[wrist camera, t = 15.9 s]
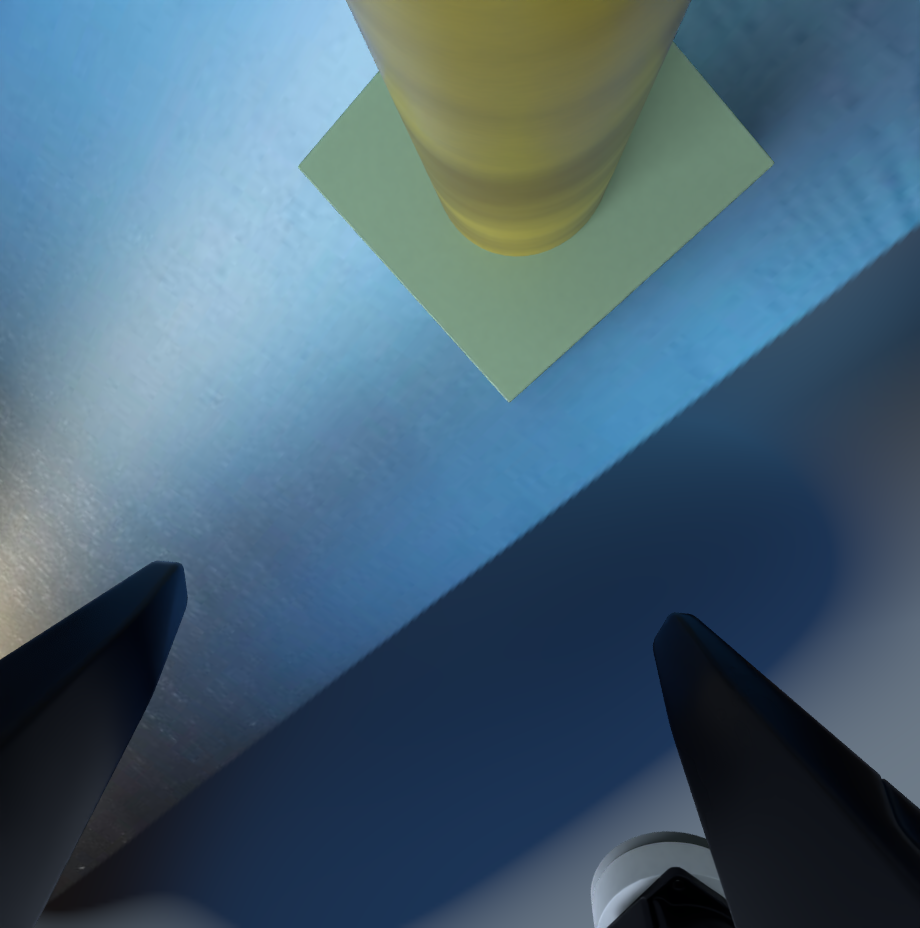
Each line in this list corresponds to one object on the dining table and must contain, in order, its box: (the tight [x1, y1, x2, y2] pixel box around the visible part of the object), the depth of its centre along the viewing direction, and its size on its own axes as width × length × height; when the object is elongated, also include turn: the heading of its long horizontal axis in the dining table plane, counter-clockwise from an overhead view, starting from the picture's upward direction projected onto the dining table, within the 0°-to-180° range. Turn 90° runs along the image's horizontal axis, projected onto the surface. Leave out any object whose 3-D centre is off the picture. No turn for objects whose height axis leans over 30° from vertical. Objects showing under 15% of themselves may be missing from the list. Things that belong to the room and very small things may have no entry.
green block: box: [298, 42, 774, 402], centre depth 17 cm, size 10×10×5 cm
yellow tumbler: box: [346, 0, 691, 257], centre depth 8 cm, size 5×5×13 cm
